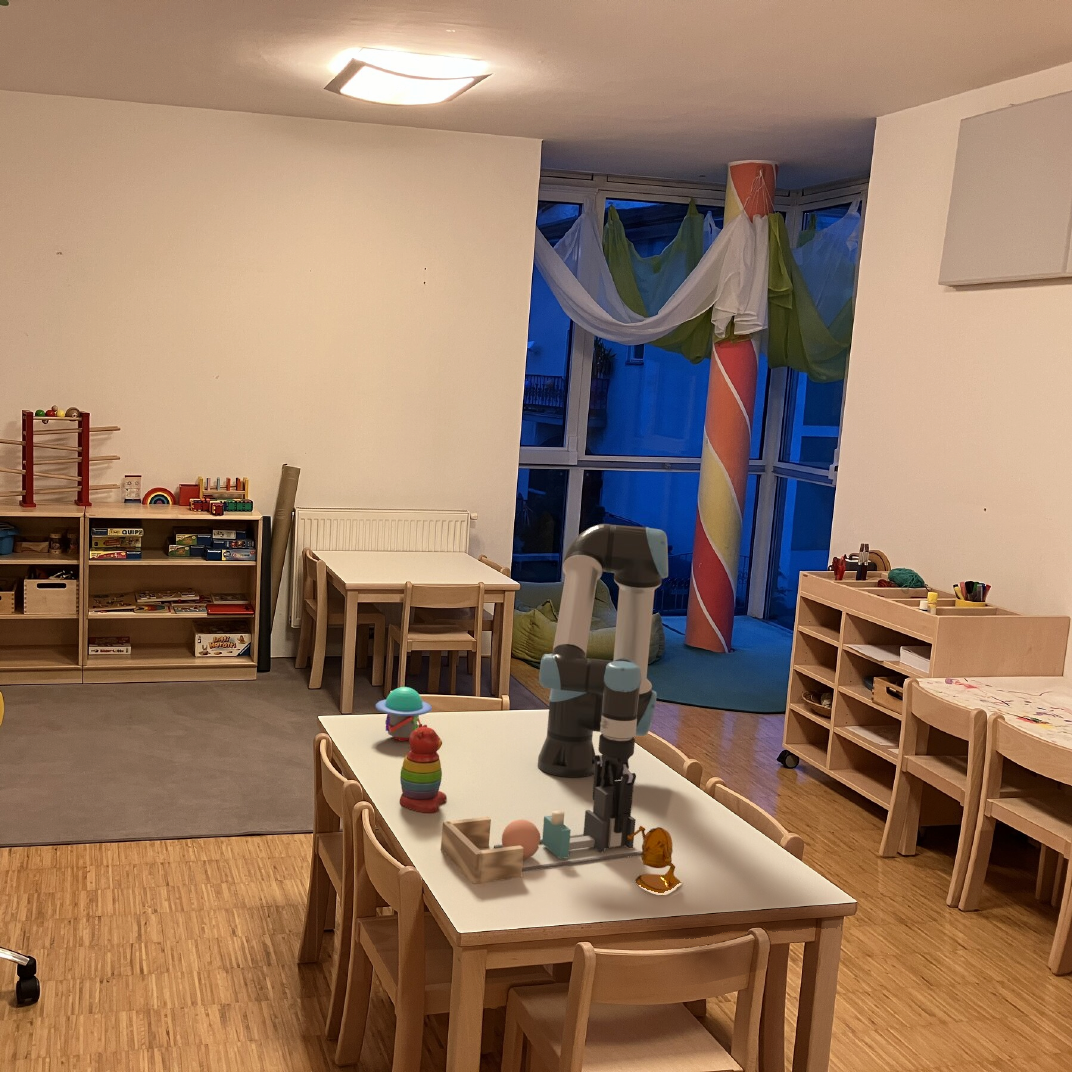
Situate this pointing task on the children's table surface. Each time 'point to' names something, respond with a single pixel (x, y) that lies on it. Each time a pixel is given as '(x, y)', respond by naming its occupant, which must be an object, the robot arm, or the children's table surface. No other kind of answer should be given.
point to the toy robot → (403, 712)
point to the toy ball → (522, 837)
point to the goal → (479, 851)
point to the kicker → (586, 827)
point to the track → (575, 860)
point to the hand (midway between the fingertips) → (608, 840)
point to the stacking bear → (422, 772)
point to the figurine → (656, 859)
